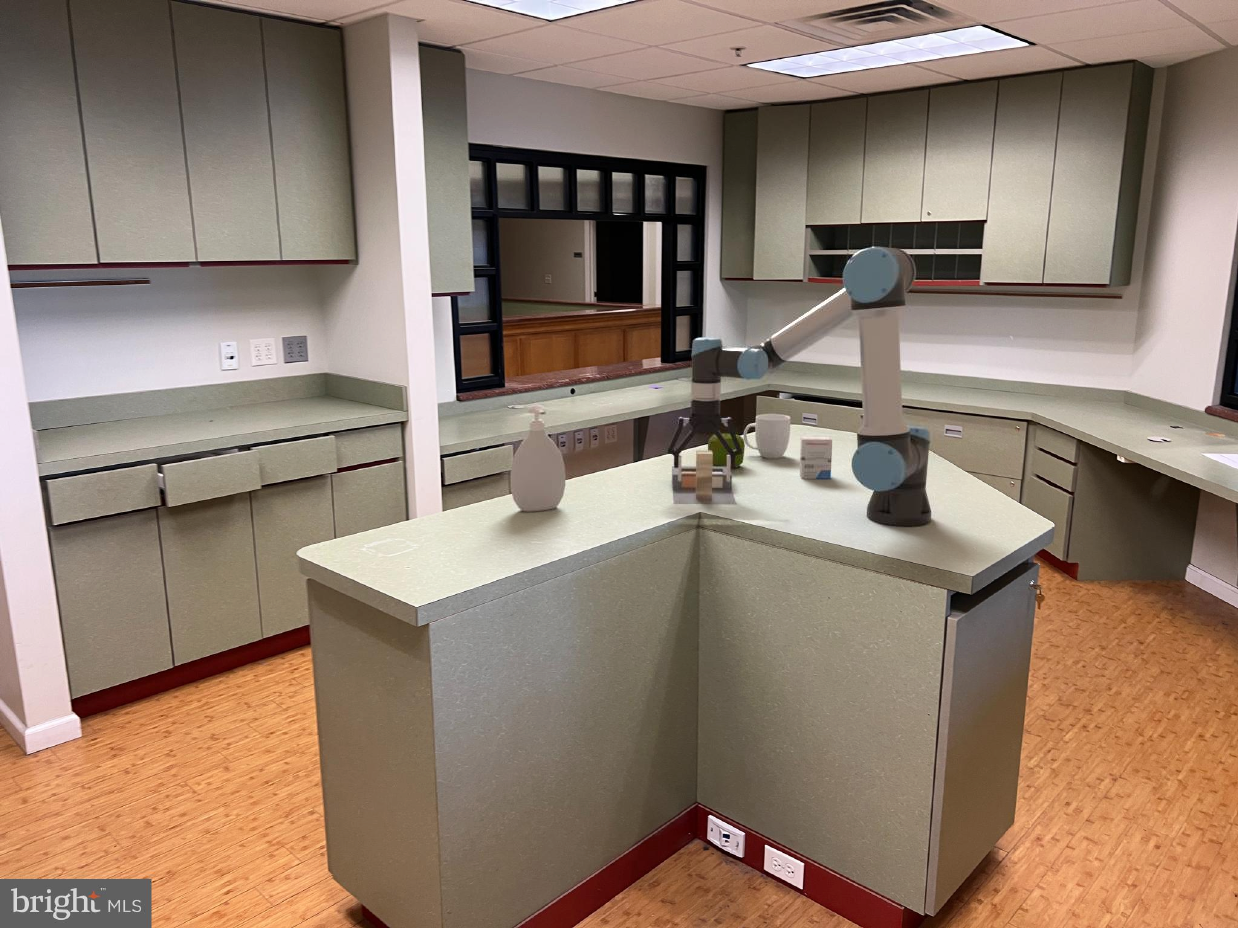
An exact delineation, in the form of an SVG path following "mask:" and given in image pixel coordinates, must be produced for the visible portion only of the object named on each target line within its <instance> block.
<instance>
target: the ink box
mask: <svg viewBox="0 0 1238 928" xmlns="http://www.w3.org/2000/svg"><path fill="white" fill-rule="evenodd" d="M799 449H800V453H799V477H800V479H805V480H807V479H809V480H810V479H811V480H813V479H817V480H819V479H820V480H824V479H825V480H830V479H831V475H832V461H833V460H832V459H833V458H832V457H833V439H832V438H831V437H830V436H829V437H828V436H800V448H799Z"/></svg>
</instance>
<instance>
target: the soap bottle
mask: <svg viewBox="0 0 1238 928" xmlns="http://www.w3.org/2000/svg"><path fill="white" fill-rule="evenodd" d="M526 410H527V411H526V412H527V413H528V414H534V419H531V420H530V422H529V433H528V434H527V435H526V436H525V438H524V439H523V440H522V441H521V443H520V445H519V446H518V448H517V450H516V452H515V453H514V455H513V457H512V458H513V459H512V463H511V469H510V476H509V477H510V480H509V482H510V492H511V495H512V500H513V502H514V503H515V504H516V506H517V508H518V509H519V510H520V511H522V512H525V513H526V512H527V513H528V512H529V513H532V512H542V511H543V512H544V511H550V510H554V509H555V508H557V507H558V506H559V504H560V503H561V501H562V499H563V498H564V494H565V489H566V488H565V487H566V468H565V462H564V459H563V455H562V452H561V451H560V449H559V448H558V446H557V444H556V443H555V442H554V441H553V439H551V438H550V436H549V435H547V433H546V430H545V426H546V425H545V421H544V420H543V419H542V418H541V419H540V415H541V416H542V415H547V414H546V413H547V409H546V407H545V406H544V405H541V404H538V403H537V404H532V405H530V406H529V407H528V408H527V409H526Z"/></svg>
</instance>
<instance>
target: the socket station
mask: <svg viewBox="0 0 1238 928" xmlns="http://www.w3.org/2000/svg"><path fill="white" fill-rule="evenodd" d="M726 474H727V467H715V466H712V499H696V465H695V466H693V465H686V466H685V465H681V481H678V468H675V467H674V465H671V486H672V487H671V488H672V499H673V504H677V505H679V504H680V505H681V504H682V505H685V504H686V505H737V501H736V499H735V496H734V493H733V490H732V487H733V486H732V485H733V473H732V472H731V470H730V482H727V480H726Z"/></svg>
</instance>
